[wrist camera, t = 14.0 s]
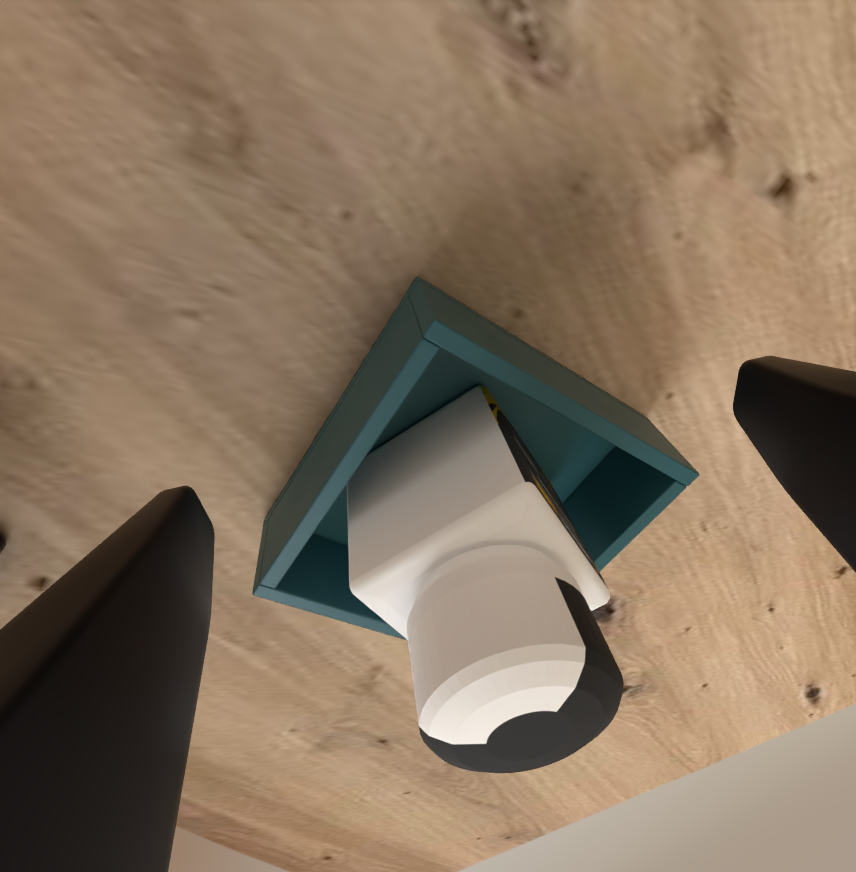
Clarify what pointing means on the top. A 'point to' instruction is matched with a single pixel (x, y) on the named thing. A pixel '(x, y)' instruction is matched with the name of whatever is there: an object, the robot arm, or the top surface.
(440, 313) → the desk bin
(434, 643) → the medicine bottle
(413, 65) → the top surface
